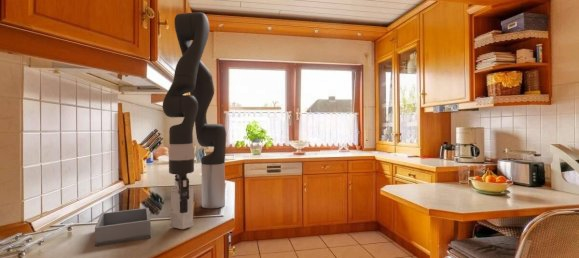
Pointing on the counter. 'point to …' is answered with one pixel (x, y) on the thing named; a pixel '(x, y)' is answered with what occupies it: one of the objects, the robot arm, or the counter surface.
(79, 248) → the counter surface
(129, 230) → the bin
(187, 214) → the skincare box
